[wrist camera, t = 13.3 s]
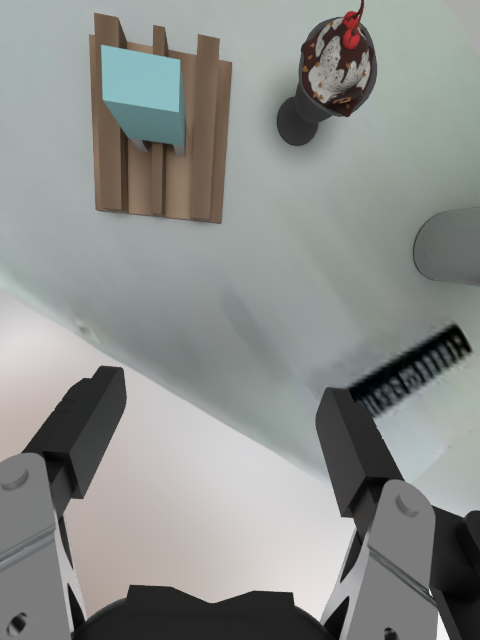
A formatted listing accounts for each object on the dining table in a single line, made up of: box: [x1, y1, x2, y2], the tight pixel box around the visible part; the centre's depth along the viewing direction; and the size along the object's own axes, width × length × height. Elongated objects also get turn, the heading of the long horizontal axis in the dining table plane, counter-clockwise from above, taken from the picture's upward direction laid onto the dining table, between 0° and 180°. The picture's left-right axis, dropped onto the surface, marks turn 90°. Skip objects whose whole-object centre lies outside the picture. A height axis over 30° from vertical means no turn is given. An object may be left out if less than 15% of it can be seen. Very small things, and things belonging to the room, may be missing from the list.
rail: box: [89, 13, 232, 223], centre depth 29 cm, size 14×16×4 cm
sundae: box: [277, 0, 377, 146], centre depth 25 cm, size 7×7×15 cm
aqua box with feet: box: [101, 45, 187, 157], centre depth 25 cm, size 5×3×11 cm, turn 85°
